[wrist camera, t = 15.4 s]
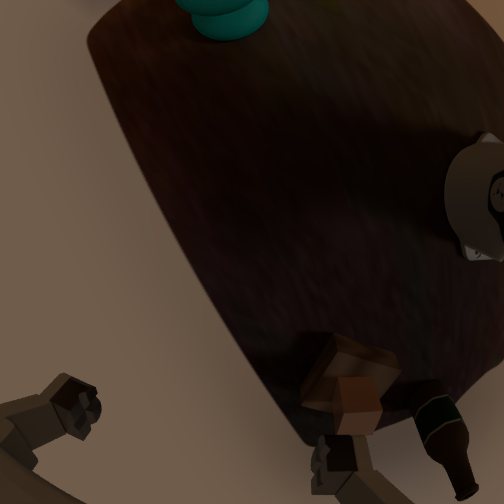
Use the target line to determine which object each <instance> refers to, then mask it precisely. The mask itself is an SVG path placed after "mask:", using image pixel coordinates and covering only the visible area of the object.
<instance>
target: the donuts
mask: <svg viewBox="0 0 504 504" xmlns="http://www.w3.org/2000/svg"><path fill="white" fill-rule="evenodd" d="M175 1H176V3H177V4H178V5H179V6H180V7H181V8H182V9H184V10H185V11H187V12H189V13H191V18H192V22H193V25H194V27H195V28H196V29H197V30H198V31H199V32H200V33H201V34H202V35H204V36H206V37H208V38H211V39H214V40H221V41H229V40H236V39H240V38H243V37H246V36H248V35H250V34H252V33H253V32H255V31H256V30H257V29H259V28H260V27H261V26H262V25H263V23H264V22H265V20H266V18H267V15H268V11H269V7H268V2H267V0H175Z"/></svg>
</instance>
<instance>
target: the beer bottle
mask: <svg viewBox="0 0 504 504" xmlns="http://www.w3.org/2000/svg"><path fill="white" fill-rule="evenodd" d="M408 405H409V408H410V411H411V414H412V416H413V419H414V421H415V424H416V427H417V429H418V432H419V434H420V437H421V440H422V442H423V446H424V448H425V450H426V452H427V454H428V455H429V456H430V457H431V458H432V459H433V460H435V461H436V462H438V463H440V464H442V465H443V467H444V468H445V470H446V472H447V474H448V476H449V479H450V481H451V483H452V486H453V488H454V490H455V493H456V496H455V498H456V499H457V501H463V500H466V499H468V498H469V497H471V496H473V495H474V494H475V493H476V492H477V491H478V489H479V485H478V484H476V483H475V479H474V476H473V473H472V470H471V467H470V463H469V460H468V456H467V448H468V444H469V432H468V430H467V427H466V425H465V423H464V421H463V419H462V417H461V415H460V413H459V411H458V409H457V408H456V406H455V404H454V402H453V400H452V398H451V397H450V395H449V393H448V392H447V390H446V389H445V387H444V386H443V385H442V383H441V382H440V381H439V380H433V381H428V382H424V383H423V384H422V385H421V386H419V387H418V388H417V389H415V390H414V391H413V392H412V395H411V397H410V400H409V403H408Z"/></svg>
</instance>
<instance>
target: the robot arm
mask: <svg viewBox="0 0 504 504" xmlns="http://www.w3.org/2000/svg"><path fill="white" fill-rule="evenodd" d="M444 202H445V209H446V214H447V217H448V220H449V223H450V225H451V227H452V229H453V230H454V232H455V233H456V235H457V236H458V238H459V240H460V244H461V249H462V253H463V256H464V258H466V259H468V260H487V259H494V260H496V261H499V262H502V260H504V142H501V141H500V140H498V139H497V138H496V137H495V136H494V135H492V134H491V133H483V134H482V135H481V136H480V138H479V139H478V140H477V142H476V143H475V144H473V145H471V146H468V147H466V148H464V149H463V150H461V151H460V152H459V153H458V154H457V155H456V156H455V158H454V159H453V161H452V163H451V165H450V167H449V169H448V172H447V176H446V180H445V187H444ZM475 251H476V253H475ZM96 395H97V390H96V387H94V386H92V385H90V384H87V383H85V382H83V381H80V380H79V379H76V378H74V377H72V376H70V375H68V374H66V373H61V374H59V375H58V376H57V377H56V378H55V379H54V380H53V382H52V383H51V384H49V386H48V387H47V388H46V389H45V390H44V391H43V392H42V393H41V394H40V395H38V394H35V395H31V396H28V397H25V398H21V399H17V400H14V401H10V402H6V403H2V404H0V504H86V503H84V502H82V501H80V500H79V499H77V498H75V497H73V496H71V495H70V494H67V493H66V492H64V491H63V490H61V489H59V488H57V487H56V486H54V485H53V484H51V483H49V482H48V481H46V480H45V479H43V478H42V477H40V476H39V475H37V474H36V473H34V472H33V471H32V470H33V469H34V467H35V466H36V465H37V463H38V459H37V457H36V456H35V454H34V453H33V452H32V450H34V449H36V448H38V447H40V446H42V445H44V444H47V443H48V442H51V441H53V440H54V439H57V438H59V437H61V436H63V435H65V434H66V433H68V434H70V435H72V436H74V437H76V438H78V439H80V440H82V441H84V440H85V438H86V437H87V435H88V434H89V432H90V431H91V424H93V423H96V422H97V420H98V419H99V417H100V414H101V410H102V409H101V402H100V401H99V399H98V398H97V397H96ZM311 471H312V472H313V473H314V474H315V475H314V476H313V478H312V480H311V489H312V491H311V492H312V495H335V497H336V498H337V500H338V501H339V502H340V504H414V503H413V502H412V501H411V500H409V499H408V498H407V497H406V496H405V495H404V494H403V493H401V492H400V491H399V490H398V489H397V488H396V487H395V486H394V485H393V484H392V483H390V482H389V481H388V480H387V479H386V478H385V477H384V476H383V475H382V474H381V473H379V472H378V471H377V470H373V467H372V462H371V457H370V453H369V448H368V444H367V439H366V436H365V435H322V436H321V437H320V439H319V446H317V447H315V449H314V452H313V454H312V458H311Z"/></svg>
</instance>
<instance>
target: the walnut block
mask: <svg viewBox="0 0 504 504" xmlns="http://www.w3.org/2000/svg"><path fill="white" fill-rule="evenodd" d="M401 372H402V369H401V367H400V365H399V363H398V361H397V359H396V357H395V354H394V352H390V351H387V350H384V349H381V348H378V347H375V346H372V345H369V344H366V343H363V342H360V341H357V340H354V339H351V338H348V337H345V336H342V335H339V334H336V333H333V334H332V336H331V338H330V339H329V341H328V343H327V344H326V346H325V348H324V349H323V351H322V353H321V354H320V356H319V357H318V359H317V361H316V362H315V364H314V365H313V367H312V368H311V370H310V371H309V373H308V374H307V376H306V378H305V379H304V381H303V382H302V384H301V385H300V403H301V406H304V407H308V408H312V409H316V410H320V411H324V412H328V413H332V414H333V407H332V399H333V395H334V391H335V387H336V383H337V378H338V377H361V376H372V377H373V380H374V384H375V387H376V390H377V393H378V396H379V399H380V398H381V397H382V396H383V395H384V393H385V392H386V391H387V390H388V388H389V387H390V386H391V385H392V383H393V382H394V381H395V380H396V378H397V377H398V376H399V374H400V373H401Z"/></svg>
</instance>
